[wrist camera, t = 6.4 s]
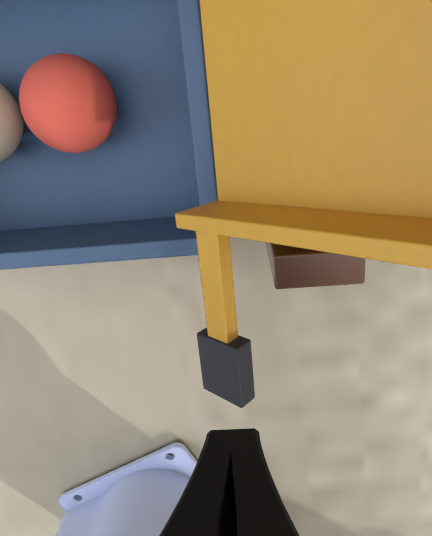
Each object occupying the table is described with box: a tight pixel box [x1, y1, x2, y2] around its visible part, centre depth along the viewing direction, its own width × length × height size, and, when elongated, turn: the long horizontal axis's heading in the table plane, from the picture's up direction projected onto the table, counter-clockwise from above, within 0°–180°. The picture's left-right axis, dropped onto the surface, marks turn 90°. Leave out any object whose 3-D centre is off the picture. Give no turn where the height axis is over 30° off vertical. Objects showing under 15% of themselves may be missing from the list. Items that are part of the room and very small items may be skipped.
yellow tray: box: [175, 0, 432, 408], centre depth 11 cm, size 10×15×4 cm
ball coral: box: [19, 53, 117, 153], centre depth 16 cm, size 4×4×4 cm
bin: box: [0, 0, 218, 270], centre depth 16 cm, size 14×11×4 cm
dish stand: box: [266, 242, 365, 289], centre depth 13 cm, size 8×11×9 cm
